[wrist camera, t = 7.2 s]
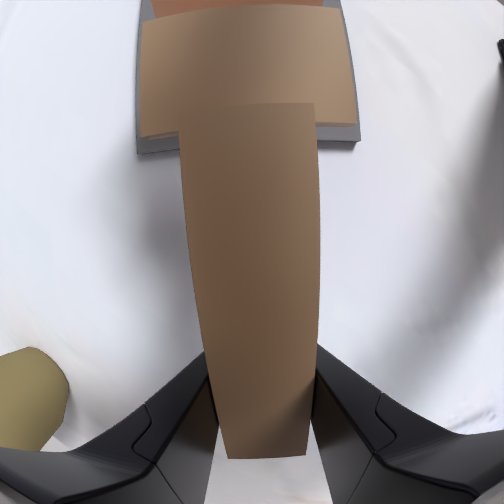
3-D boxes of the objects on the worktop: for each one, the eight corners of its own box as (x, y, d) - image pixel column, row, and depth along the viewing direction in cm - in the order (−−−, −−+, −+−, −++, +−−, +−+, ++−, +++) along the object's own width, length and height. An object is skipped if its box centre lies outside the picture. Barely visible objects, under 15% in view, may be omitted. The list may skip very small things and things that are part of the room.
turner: (333, 19, 6) (360, -29, 4) (336, 393, 10) (354, 447, 7) (150, 31, 7) (114, -11, 4) (192, 400, 10) (179, 455, 8)
